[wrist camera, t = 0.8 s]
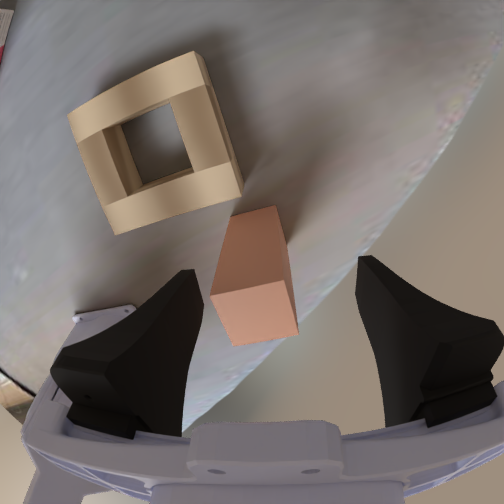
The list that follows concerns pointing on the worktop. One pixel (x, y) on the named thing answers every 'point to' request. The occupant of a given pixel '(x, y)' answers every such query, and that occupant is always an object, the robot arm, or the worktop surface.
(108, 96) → the socket block
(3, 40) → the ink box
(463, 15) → the worktop surface
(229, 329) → the peg
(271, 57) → the worktop surface
